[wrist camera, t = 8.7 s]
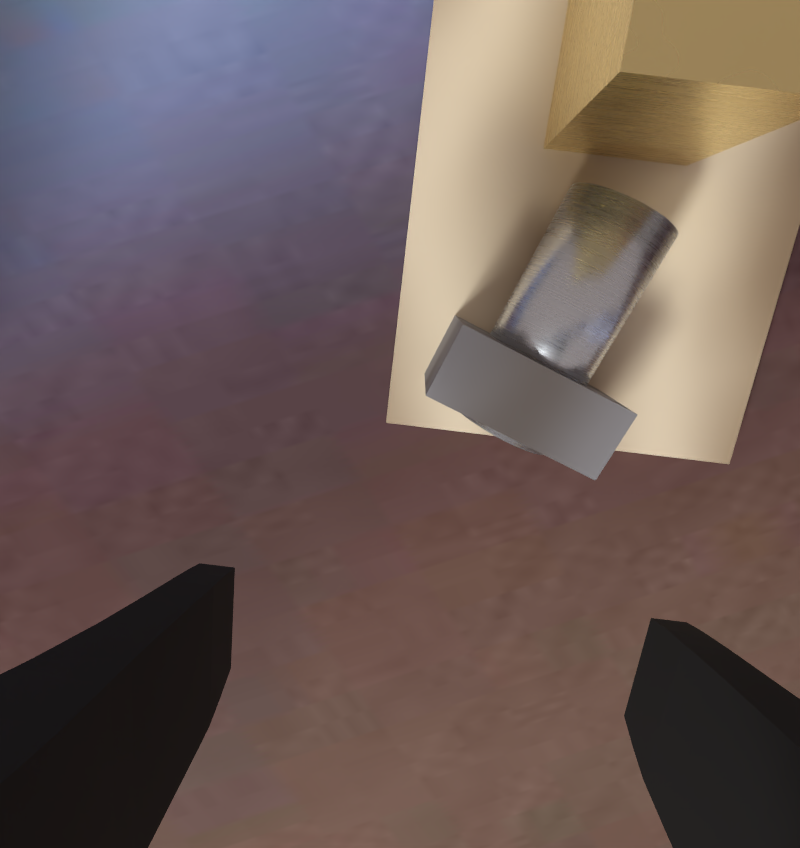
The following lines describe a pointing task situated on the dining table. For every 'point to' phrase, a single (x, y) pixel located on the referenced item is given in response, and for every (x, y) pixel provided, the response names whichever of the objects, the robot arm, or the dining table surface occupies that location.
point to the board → (525, 227)
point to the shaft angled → (583, 282)
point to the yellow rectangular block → (674, 77)
